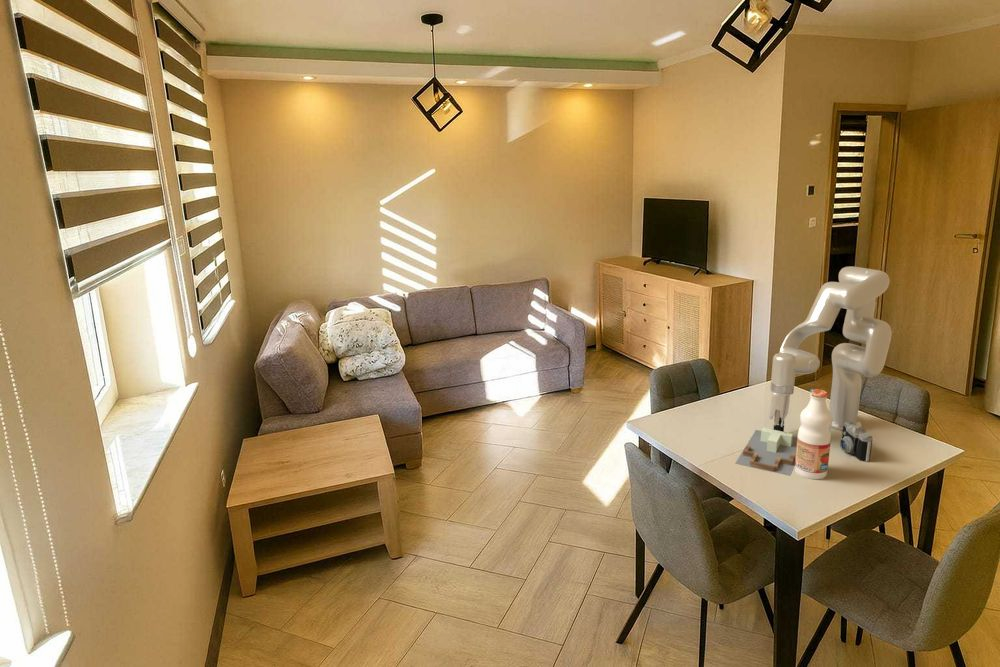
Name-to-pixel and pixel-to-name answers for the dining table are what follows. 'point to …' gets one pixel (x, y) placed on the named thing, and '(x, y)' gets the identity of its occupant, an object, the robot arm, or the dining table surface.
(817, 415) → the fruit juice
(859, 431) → the camera
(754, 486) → the dining table surface
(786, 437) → the t block
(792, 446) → the mat
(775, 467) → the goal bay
